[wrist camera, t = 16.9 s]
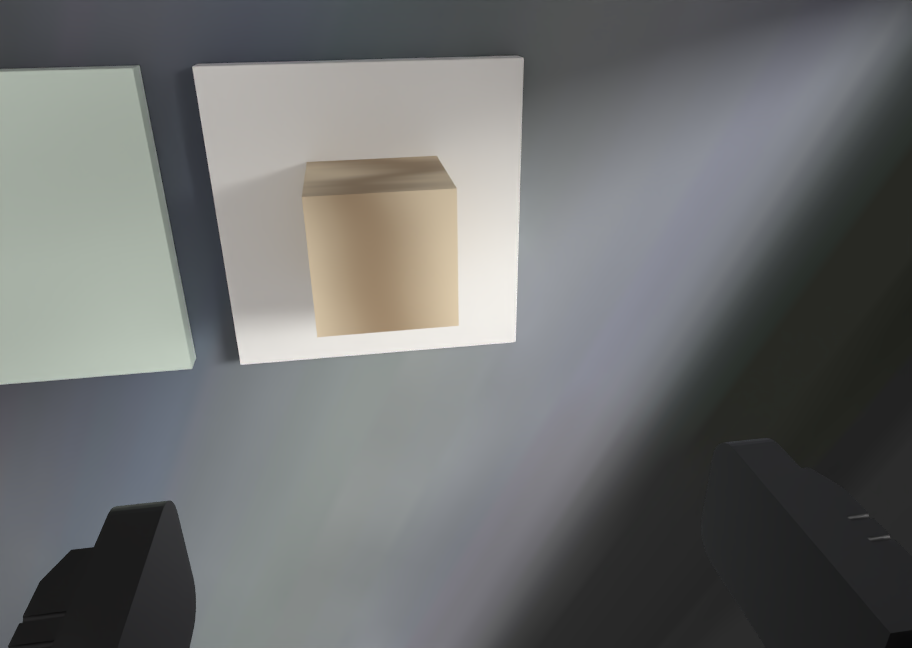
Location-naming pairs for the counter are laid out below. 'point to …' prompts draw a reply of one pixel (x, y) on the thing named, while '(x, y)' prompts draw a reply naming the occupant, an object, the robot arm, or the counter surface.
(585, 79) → the counter surface
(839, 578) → the robot arm
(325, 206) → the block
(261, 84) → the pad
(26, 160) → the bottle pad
